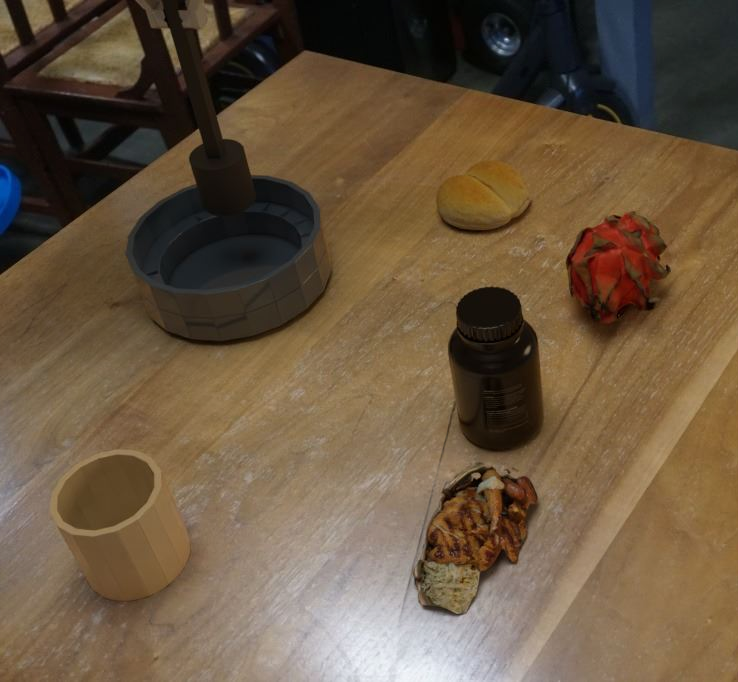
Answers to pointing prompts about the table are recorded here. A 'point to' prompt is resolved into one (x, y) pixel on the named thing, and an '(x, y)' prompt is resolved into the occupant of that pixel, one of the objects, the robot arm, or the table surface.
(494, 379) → the supplement bottle
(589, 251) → the dragon fruit
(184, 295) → the bowl
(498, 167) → the bread roll
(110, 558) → the crock
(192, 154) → the long black rod
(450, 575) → the brown food piece
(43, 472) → the table surface
